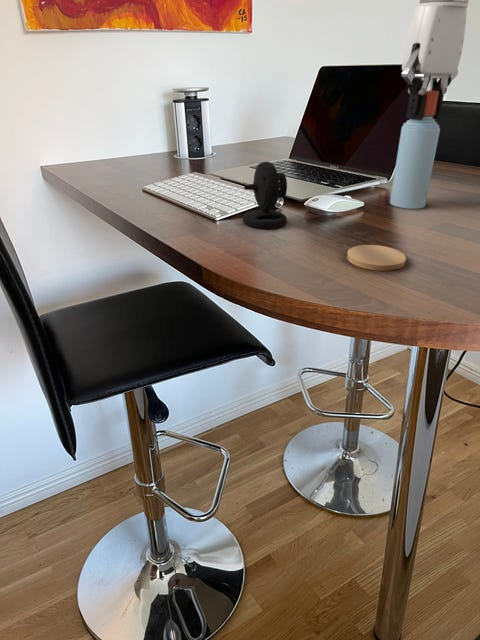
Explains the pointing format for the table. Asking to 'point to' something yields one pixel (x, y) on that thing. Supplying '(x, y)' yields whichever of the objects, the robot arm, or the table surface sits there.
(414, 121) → the bottle
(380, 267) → the coaster
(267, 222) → the webcam
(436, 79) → the robot arm
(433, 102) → the cap
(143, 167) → the table surface
